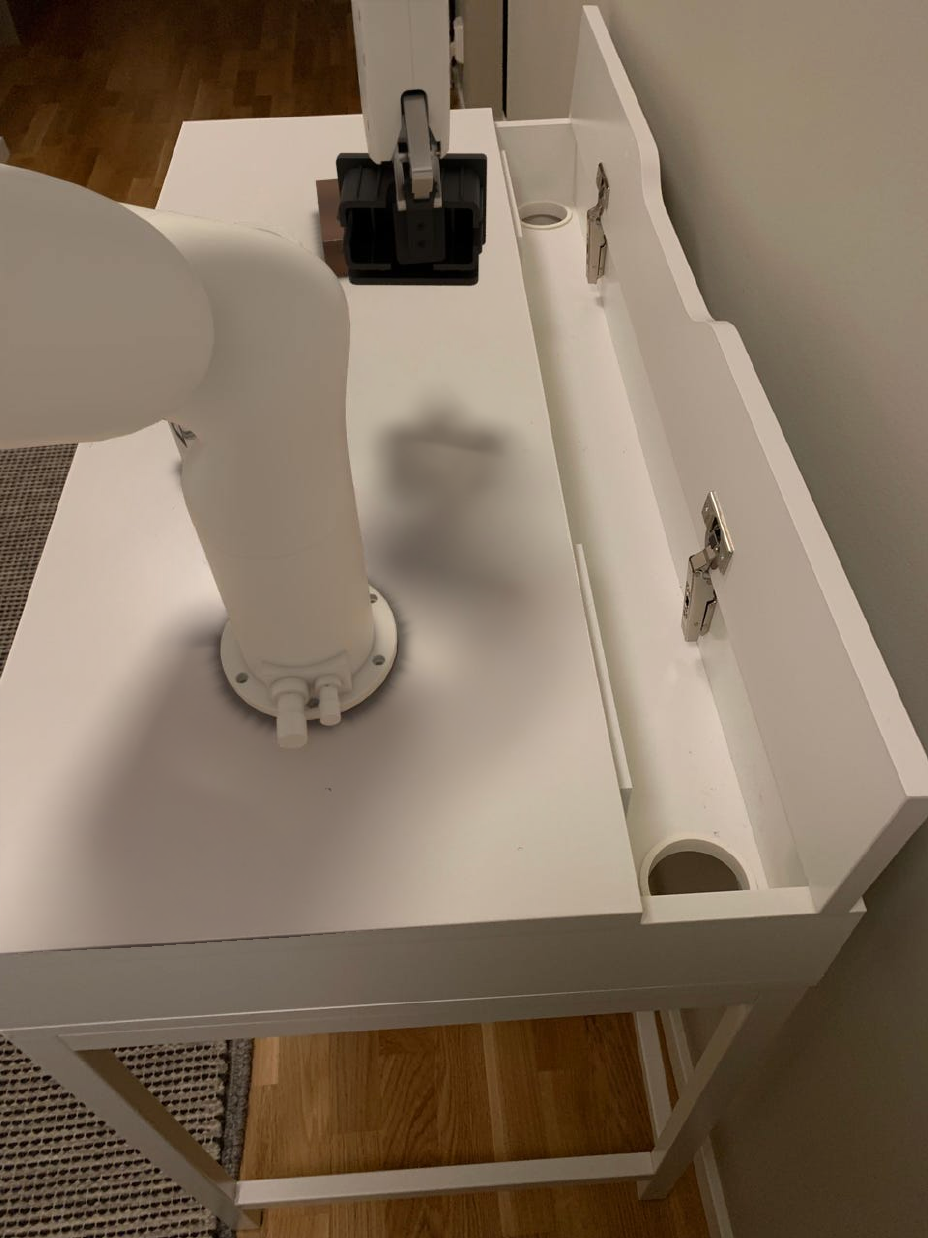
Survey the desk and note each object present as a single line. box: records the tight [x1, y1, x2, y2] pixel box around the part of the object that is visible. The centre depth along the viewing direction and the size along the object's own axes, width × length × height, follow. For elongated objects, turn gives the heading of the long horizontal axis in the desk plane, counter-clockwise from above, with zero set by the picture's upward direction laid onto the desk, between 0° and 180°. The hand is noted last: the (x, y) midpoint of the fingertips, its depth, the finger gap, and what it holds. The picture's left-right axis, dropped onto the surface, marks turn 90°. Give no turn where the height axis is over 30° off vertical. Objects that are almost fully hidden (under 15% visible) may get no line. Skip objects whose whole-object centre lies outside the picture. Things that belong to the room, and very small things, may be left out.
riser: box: [315, 178, 349, 277], centre depth 93 cm, size 12×12×4 cm
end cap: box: [335, 152, 488, 287], centre depth 60 cm, size 10×7×7 cm
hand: (414, 223), depth 61 cm, fingers closed on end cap, 7 cm apart
